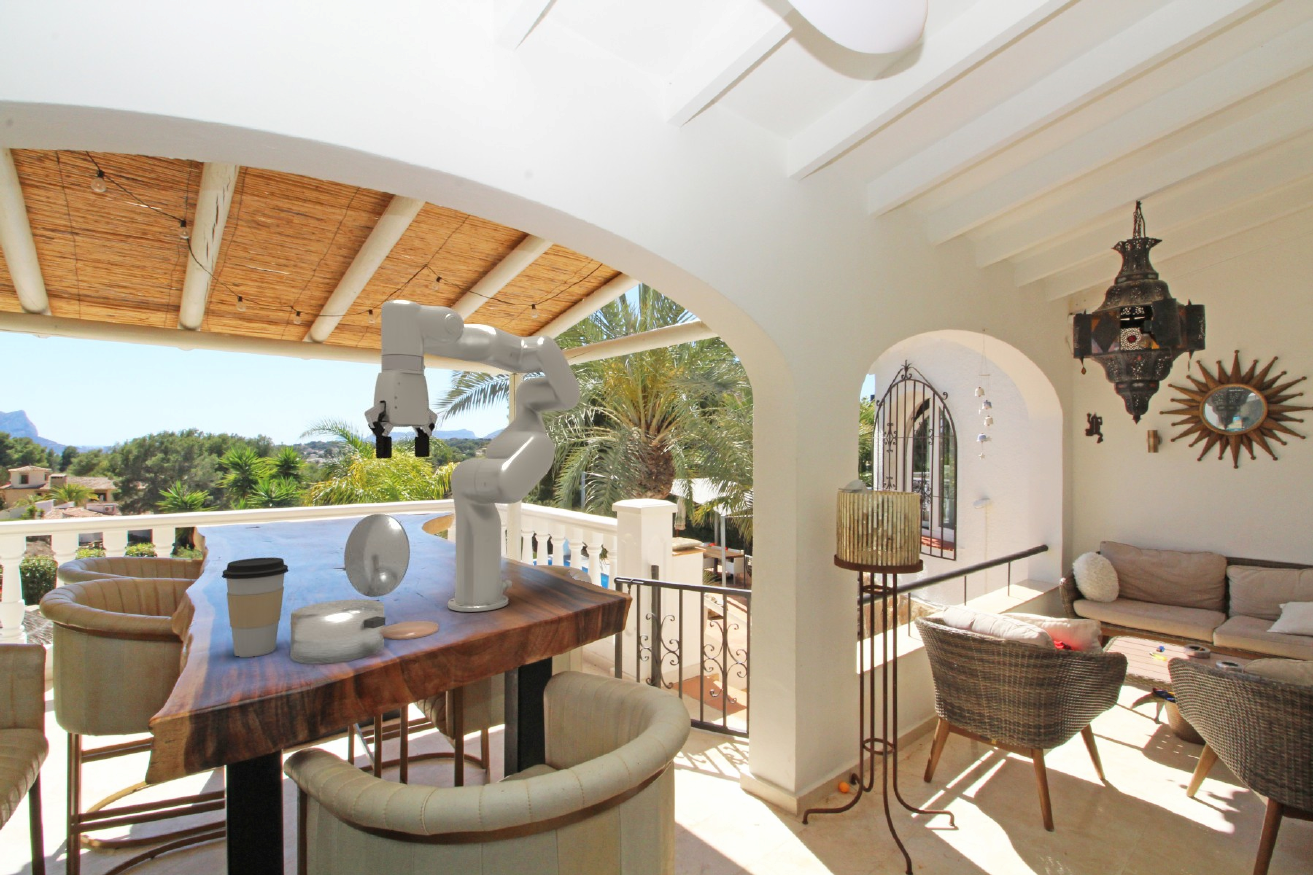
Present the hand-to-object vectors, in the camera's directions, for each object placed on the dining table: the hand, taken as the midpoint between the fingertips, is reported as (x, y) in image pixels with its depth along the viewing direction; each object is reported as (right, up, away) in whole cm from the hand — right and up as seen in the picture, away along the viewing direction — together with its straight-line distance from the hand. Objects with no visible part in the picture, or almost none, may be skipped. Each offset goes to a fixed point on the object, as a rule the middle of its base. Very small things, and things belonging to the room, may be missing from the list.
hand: (403, 457), depth 121 cm
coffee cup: (-19, -32, -15) cm, 40 cm away
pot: (-5, -32, -14) cm, 35 cm away
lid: (-3, -17, -7) cm, 19 cm away
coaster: (+2, -32, -3) cm, 32 cm away
